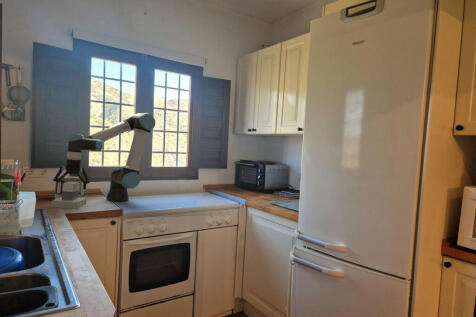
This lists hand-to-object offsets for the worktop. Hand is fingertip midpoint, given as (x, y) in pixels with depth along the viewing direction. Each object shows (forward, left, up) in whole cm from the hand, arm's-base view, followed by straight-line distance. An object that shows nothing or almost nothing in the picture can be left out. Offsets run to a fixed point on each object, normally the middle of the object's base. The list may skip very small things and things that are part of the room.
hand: (70, 193), depth 183 cm
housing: (0, 0, -3) cm, 3 cm away
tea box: (+10, -24, -7) cm, 27 cm away
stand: (0, 0, -7) cm, 7 cm away
